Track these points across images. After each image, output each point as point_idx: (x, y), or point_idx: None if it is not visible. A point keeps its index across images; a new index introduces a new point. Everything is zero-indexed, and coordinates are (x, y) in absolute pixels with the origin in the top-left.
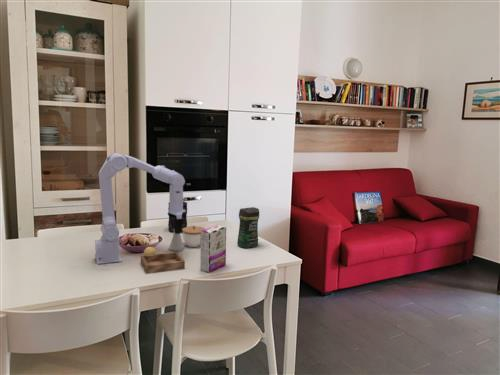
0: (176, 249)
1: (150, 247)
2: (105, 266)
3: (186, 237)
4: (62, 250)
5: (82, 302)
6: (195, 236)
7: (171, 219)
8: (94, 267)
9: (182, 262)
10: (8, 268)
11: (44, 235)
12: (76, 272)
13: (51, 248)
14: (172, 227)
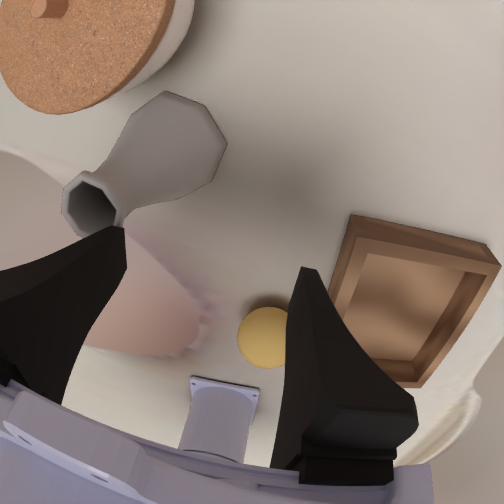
0: (212, 165)
1: (271, 361)
2: (277, 416)
3: (136, 84)
4: (118, 420)
5: (435, 445)
6: (178, 12)
7: (76, 345)
8: (271, 428)
9: (494, 273)
10: None
11: None
12: None
13: (104, 422)
14: (120, 275)
